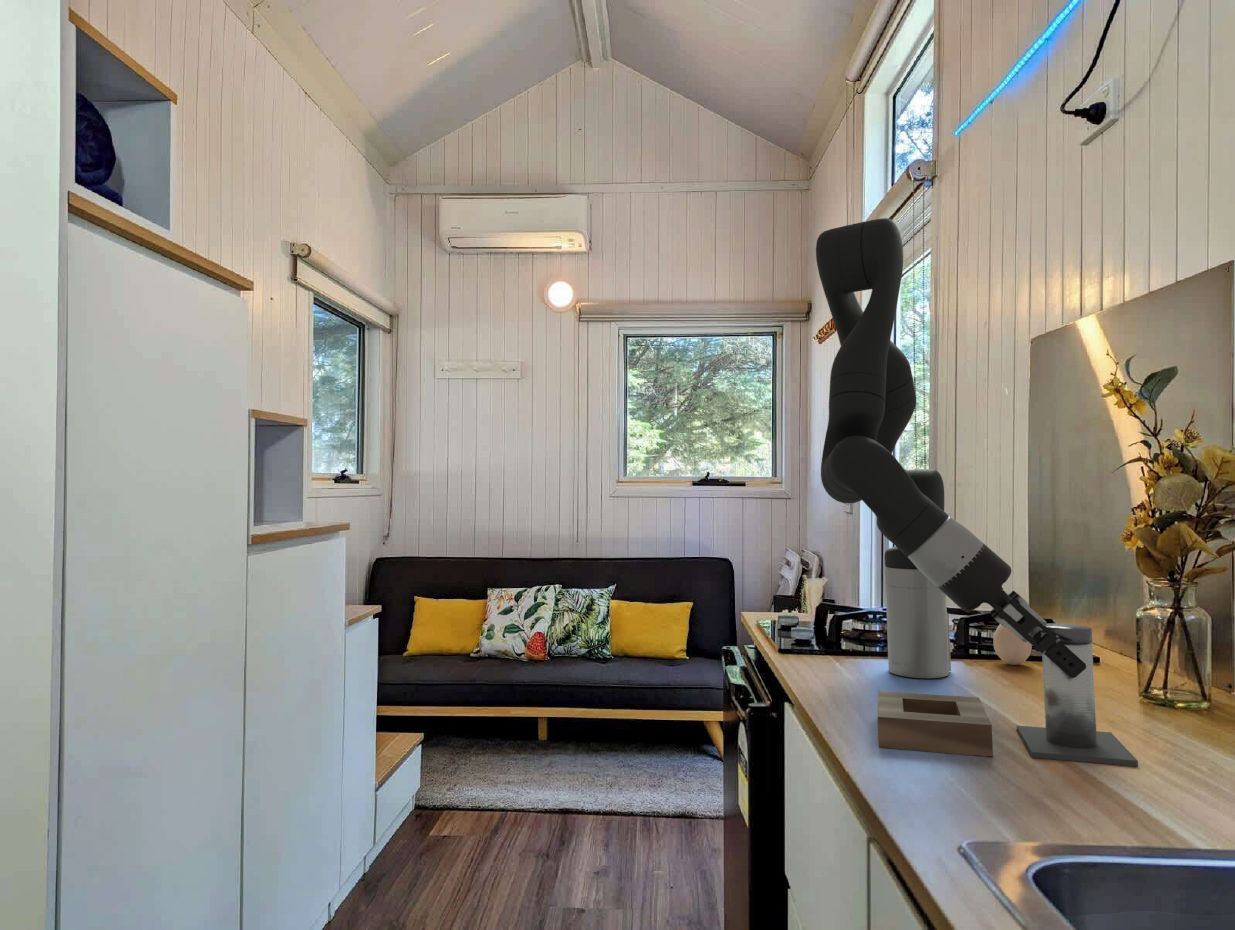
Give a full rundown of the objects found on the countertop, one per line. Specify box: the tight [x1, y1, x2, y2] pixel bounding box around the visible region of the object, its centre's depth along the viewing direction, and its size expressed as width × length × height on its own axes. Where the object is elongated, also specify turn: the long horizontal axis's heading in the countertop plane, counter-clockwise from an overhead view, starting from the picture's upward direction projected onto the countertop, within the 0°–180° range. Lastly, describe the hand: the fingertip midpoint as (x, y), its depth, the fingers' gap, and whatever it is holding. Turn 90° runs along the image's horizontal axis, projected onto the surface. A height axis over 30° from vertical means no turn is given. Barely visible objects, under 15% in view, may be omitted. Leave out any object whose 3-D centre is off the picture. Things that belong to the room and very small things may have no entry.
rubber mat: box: [1016, 725, 1139, 767], centre depth 86 cm, size 10×10×1 cm
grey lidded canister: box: [1041, 622, 1097, 748], centre depth 86 cm, size 5×5×13 cm
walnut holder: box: [877, 690, 994, 758], centre depth 91 cm, size 12×12×4 cm
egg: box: [992, 623, 1033, 666], centre depth 127 cm, size 6×6×8 cm
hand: (1070, 663), depth 86 cm, fingers open, 8 cm apart
